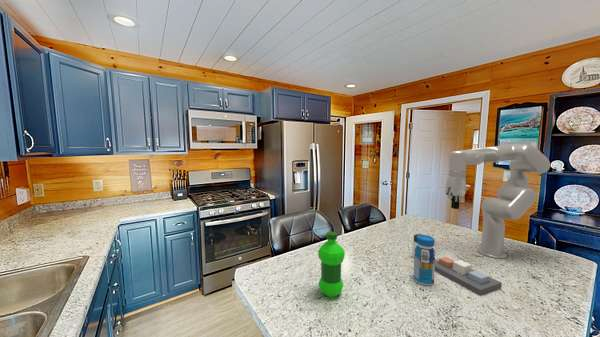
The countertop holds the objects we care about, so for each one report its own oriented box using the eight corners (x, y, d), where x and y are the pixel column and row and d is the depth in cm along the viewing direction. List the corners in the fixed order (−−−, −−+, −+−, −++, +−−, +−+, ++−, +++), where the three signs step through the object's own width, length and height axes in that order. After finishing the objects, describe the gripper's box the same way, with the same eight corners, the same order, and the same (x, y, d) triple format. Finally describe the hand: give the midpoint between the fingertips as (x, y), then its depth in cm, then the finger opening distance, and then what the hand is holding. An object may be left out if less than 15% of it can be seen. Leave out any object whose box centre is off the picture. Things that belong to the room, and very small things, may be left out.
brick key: (445, 264, 115) (446, 256, 115) (455, 269, 111) (456, 261, 110) (438, 266, 114) (439, 258, 113) (448, 271, 109) (448, 263, 109)
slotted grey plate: (447, 262, 119) (447, 257, 119) (501, 288, 97) (501, 282, 97) (427, 267, 114) (427, 262, 114) (479, 295, 92) (480, 289, 92)
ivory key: (459, 268, 109) (460, 259, 108) (471, 273, 104) (471, 264, 104) (452, 270, 107) (453, 261, 107) (463, 275, 102) (464, 266, 102)
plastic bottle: (317, 285, 99) (317, 228, 97) (341, 286, 98) (343, 229, 96) (318, 300, 89) (319, 238, 87) (345, 301, 88) (347, 238, 86)
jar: (424, 263, 118) (425, 241, 117) (409, 257, 125) (410, 236, 124) (433, 259, 123) (434, 237, 122) (418, 253, 129) (419, 232, 128)
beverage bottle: (408, 277, 105) (410, 235, 103) (421, 274, 108) (423, 232, 106) (425, 288, 97) (427, 242, 95) (438, 283, 100) (441, 239, 99)
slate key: (475, 278, 102) (476, 270, 102) (488, 285, 98) (488, 276, 97) (468, 281, 101) (468, 272, 100) (480, 287, 96) (481, 278, 96)
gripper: (459, 173, 128) (457, 205, 129) (440, 174, 122) (438, 208, 124) (473, 174, 121) (471, 208, 122) (454, 175, 115) (452, 211, 117)
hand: (455, 208), depth 123 cm, fingers closed
